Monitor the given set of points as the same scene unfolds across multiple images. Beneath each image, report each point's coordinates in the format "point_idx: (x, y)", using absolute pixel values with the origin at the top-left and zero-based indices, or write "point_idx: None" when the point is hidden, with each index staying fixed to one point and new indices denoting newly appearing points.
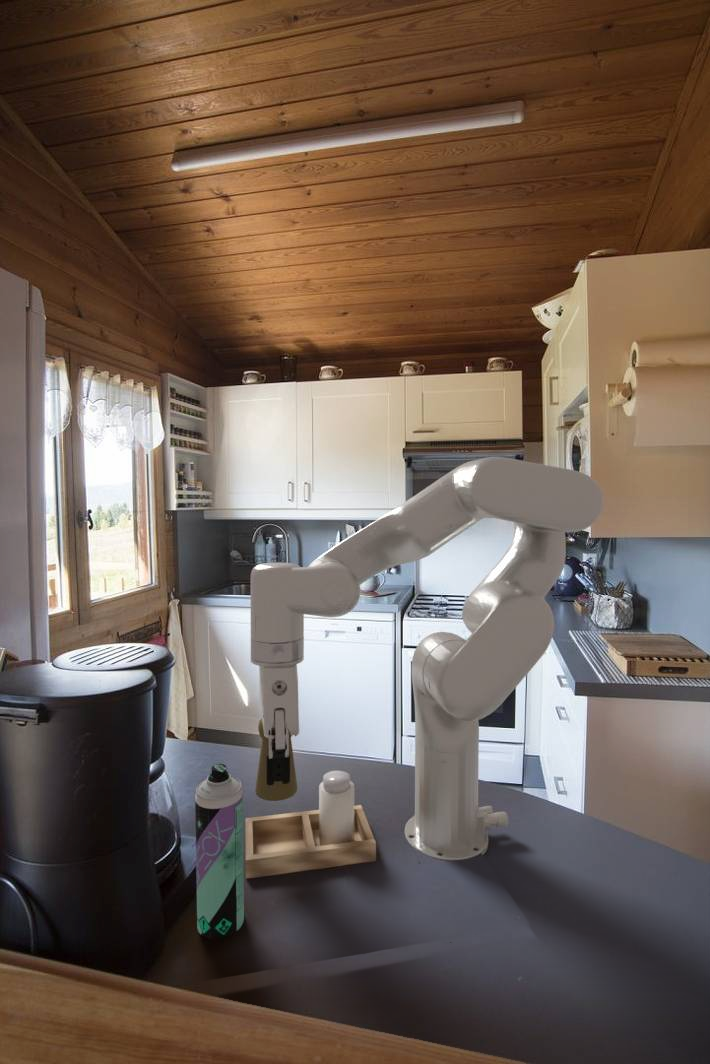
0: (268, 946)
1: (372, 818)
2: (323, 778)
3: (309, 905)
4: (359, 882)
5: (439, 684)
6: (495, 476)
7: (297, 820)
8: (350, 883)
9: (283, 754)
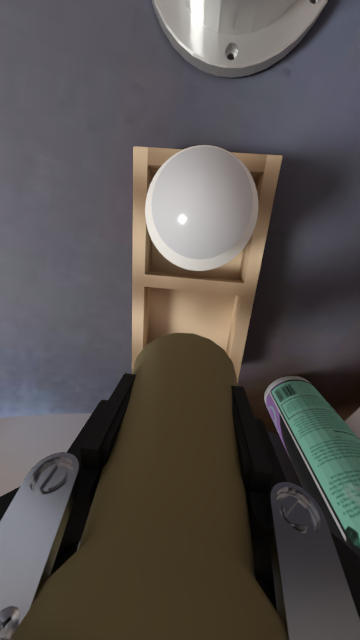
0: (339, 356)
1: (124, 131)
2: (195, 258)
3: (299, 300)
4: (287, 216)
5: None
6: None
7: (145, 293)
8: (283, 231)
9: (351, 557)
